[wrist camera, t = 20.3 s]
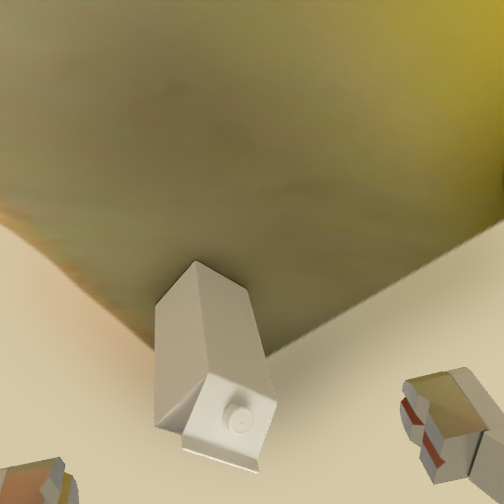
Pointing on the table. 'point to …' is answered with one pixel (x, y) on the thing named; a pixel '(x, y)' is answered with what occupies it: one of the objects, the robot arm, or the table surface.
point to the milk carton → (212, 369)
